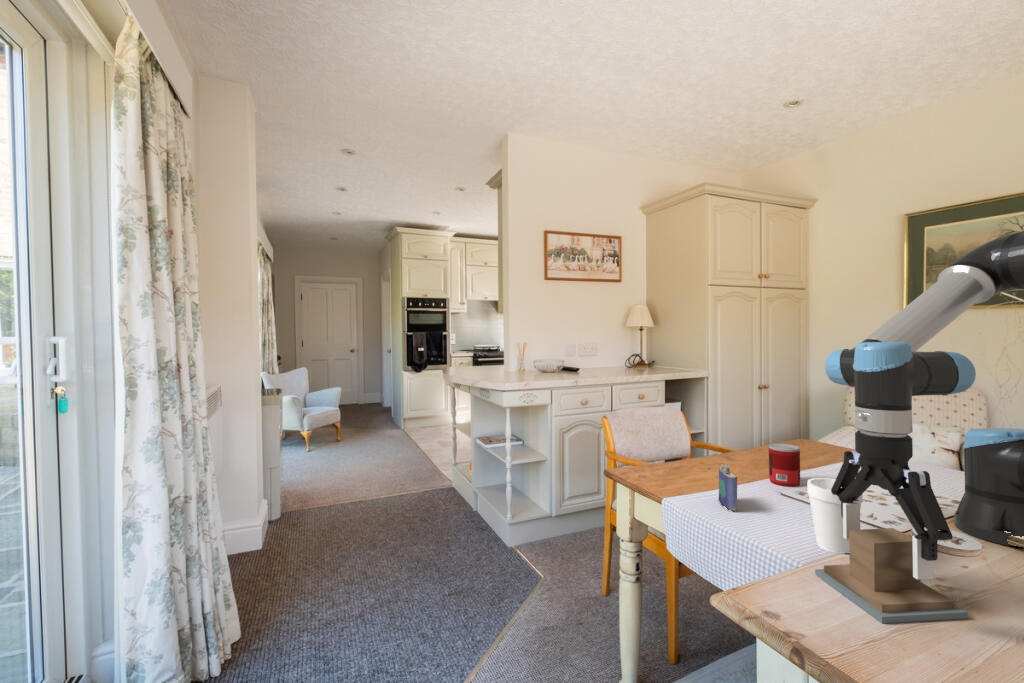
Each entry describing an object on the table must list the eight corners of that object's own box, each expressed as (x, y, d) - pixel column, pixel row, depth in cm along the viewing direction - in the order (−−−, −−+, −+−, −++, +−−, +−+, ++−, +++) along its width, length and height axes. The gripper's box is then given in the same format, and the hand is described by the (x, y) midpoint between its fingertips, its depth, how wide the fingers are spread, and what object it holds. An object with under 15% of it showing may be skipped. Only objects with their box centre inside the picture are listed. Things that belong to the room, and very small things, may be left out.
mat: (887, 571, 83) (886, 565, 83) (967, 618, 69) (967, 612, 69) (815, 574, 82) (815, 569, 82) (882, 623, 68) (881, 616, 68)
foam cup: (847, 562, 87) (846, 495, 86) (798, 543, 95) (797, 482, 95) (872, 550, 91) (871, 487, 91) (823, 533, 99) (822, 475, 99)
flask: (739, 512, 112) (738, 470, 111) (727, 512, 112) (726, 469, 112) (727, 499, 121) (726, 460, 121) (715, 499, 121) (714, 459, 121)
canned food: (806, 487, 129) (805, 449, 129) (778, 487, 129) (778, 449, 129) (790, 478, 136) (789, 443, 136) (764, 479, 137) (763, 443, 136)
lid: (886, 568, 82) (885, 519, 82) (954, 608, 70) (953, 550, 70) (824, 572, 81) (823, 522, 81) (881, 612, 69) (881, 554, 69)
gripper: (808, 419, 88) (810, 526, 88) (935, 452, 63) (937, 600, 63) (845, 418, 88) (846, 524, 88) (985, 450, 63) (987, 597, 63)
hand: (884, 556), depth 76 cm, fingers open, 13 cm apart
